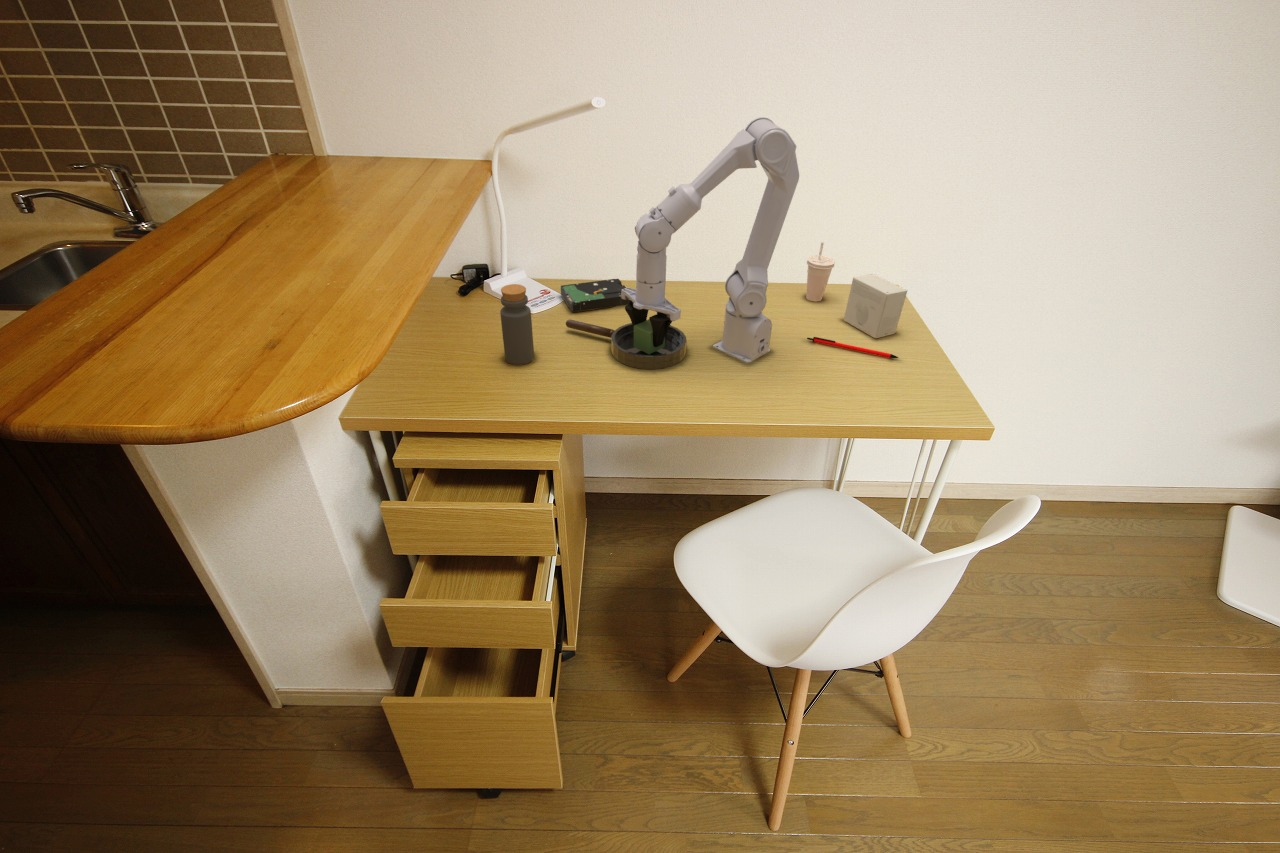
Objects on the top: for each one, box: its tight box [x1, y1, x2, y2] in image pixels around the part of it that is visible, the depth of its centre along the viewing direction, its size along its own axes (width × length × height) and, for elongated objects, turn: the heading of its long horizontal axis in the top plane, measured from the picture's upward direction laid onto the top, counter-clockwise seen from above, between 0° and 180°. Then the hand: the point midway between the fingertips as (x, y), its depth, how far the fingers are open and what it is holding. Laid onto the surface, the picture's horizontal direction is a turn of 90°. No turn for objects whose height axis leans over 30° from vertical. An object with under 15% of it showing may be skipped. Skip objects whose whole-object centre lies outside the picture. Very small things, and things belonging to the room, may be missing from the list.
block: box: [633, 318, 665, 354], centre depth 134 cm, size 5×5×5 cm
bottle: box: [499, 283, 535, 366], centre depth 129 cm, size 6×6×15 cm
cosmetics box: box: [843, 273, 908, 339], centre depth 145 cm, size 10×6×10 cm, turn 28°
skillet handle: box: [565, 319, 615, 339], centre depth 140 cm, size 12×2×2 cm, turn 65°
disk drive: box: [560, 278, 630, 313], centre depth 156 cm, size 10×3×15 cm
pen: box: [806, 336, 900, 359], centre depth 139 cm, size 1×19×1 cm, turn 66°
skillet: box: [610, 322, 687, 370], centre depth 136 cm, size 15×15×3 cm
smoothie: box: [805, 241, 836, 303], centre depth 156 cm, size 6×6×14 cm
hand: (649, 340), depth 135 cm, fingers closed on block, 4 cm apart
